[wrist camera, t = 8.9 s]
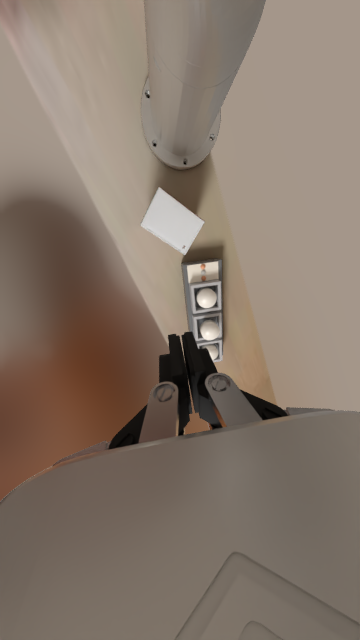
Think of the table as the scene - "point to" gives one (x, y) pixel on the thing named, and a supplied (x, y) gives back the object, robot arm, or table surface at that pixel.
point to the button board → (193, 280)
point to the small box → (171, 221)
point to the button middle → (209, 330)
